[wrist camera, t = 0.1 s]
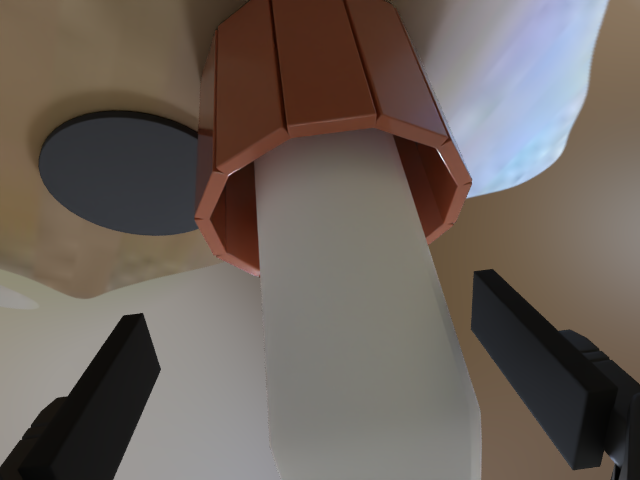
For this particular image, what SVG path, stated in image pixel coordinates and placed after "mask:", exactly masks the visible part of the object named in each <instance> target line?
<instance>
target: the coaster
mask: <svg viewBox="0 0 640 480" xmlns="http://www.w3.org/2000/svg"><path fill="white" fill-rule="evenodd" d="M197 147H198V133H196V132H195V131H193V130H191V129H189V128H187V127H185V126H183V125H181V124H178V123H176V122H174V121H171V120H168V119H164V118H161V117H158V116H153V115H149V114H144V113H137V112H127V111H109V112H98V113H92V114H87V115H83V116H80V117H77V118H74V119H72V120H70V121H68V122H66V123H64V124H62V125H61V126H59V127H58V128H57V129H55V130H54V131H53V132H52V133H51V134H50V135H49V136H48V137H47V139H46V141H45V142H44V144H43V146H42V149H41V153H40V156H39V171H40V176H41V178H42V180H43V183H44V185H45V186H46V188H47V189H48V191H49V192H50V193H51V194H52V196H53V197H54V198H55V199H56V200H57V201H58V202H60V203H61V204H62V205H63V206H64V207H66V208H67V209H68V210H70V211H71V212H73V213H74V214H76V215H78V216H80V217H81V218H83V219H85V220H88V221H90V222H92V223H94V224H97V225H99V226H102V227H105V228H109V229H112V230H116V231H120V232H125V233H130V234H138V235H152V236H160V235H174V234H180V233H185V232H189V231H193V230H196V229H199V228H198V226H197V224H196V222H195V220H194V210H195V189H196V168H197Z"/></svg>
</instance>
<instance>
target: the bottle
mask: <svg viewBox="0 0 640 480" xmlns="http://www.w3.org/2000/svg"><path fill="white" fill-rule="evenodd" d="M254 172H255V190H256V208H257V226H258V244H259V262H260V279H261V297H262V315H263V333H264V351H265V369H266V387H267V405H268V422H269V441H270V449H271V452H272V455H273V458H274V461H275V464H276V467H277V470H278V473H279V476H280V479H281V480H481V454H482V437H481V412H480V407H479V405H478V401H477V398H476V395H475V392H474V389H473V385H472V382H471V379H470V376H469V373H468V370H467V367H466V364H465V360H464V357H463V354H462V351H461V348H460V345H459V342H458V338H457V335H456V332H455V329H454V326H453V323H452V320H451V316H450V313H449V310H448V307H447V304H446V301H445V298H444V295H443V291H442V288H441V285H440V282H439V279H438V276H437V272H436V269H435V266H434V263H433V260H432V257H431V254H430V251H429V248H428V244H427V241H426V238H425V235H424V232H423V229H422V225H421V222H420V219H419V216H418V213H417V210H416V207H415V203H414V200H413V197H412V194H411V191H410V188H409V185H408V181H407V178H406V175H405V172H404V169H403V166H402V163H401V159H400V156H399V153H398V150H397V147H396V144H395V141H394V138H393V134H390V133H387V132H384V131H381V130H378V129H375V128H370V129H362V130H354V131H346V132H338V133H331V134H323V135H315V136H307V137H299V138H292V139H289V140H288V141H286V142H284V143H283V144H281V145H279V146H278V147H276V148H274V149H273V150H271V151H269V152H268V153H266V154H264V155H263V156H261V157H259V158H258V159H256V160H254Z"/></svg>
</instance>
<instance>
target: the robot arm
mask: <svg viewBox="0 0 640 480" xmlns="http://www.w3.org/2000/svg"><path fill="white" fill-rule="evenodd" d="M471 330H472V331H473V333H474V334H475V335H476V337H477V338H478V340H479V341H480V342H481V344H482V345H483V346H484V348H485V349H486V351H487V352H488V353H489V355H490V356H491V358H492V359H493V360H494V362H495V363H496V364H497V366H498V367H499V369H500V370H501V371H502V373H503V374H504V375H505V377H506V378H507V380H508V381H509V382H510V384H511V385H512V387H513V388H514V389H515V391H516V392H517V394H518V395H519V396H520V398H521V399H522V400H523V402H524V403H525V404H526V406H527V407H528V409H529V410H530V412H531V413H532V414H533V416H534V417H535V418H536V420H537V421H538V422H539V424H540V425H541V427H542V428H543V429H544V431H545V432H546V434H547V435H548V436H549V438H550V439H551V440H552V442H553V443H554V445H555V446H556V448H557V449H558V450H559V451H560V453H561V454H562V456H563V457H564V459H565V460H566V461H567V463H568V464H569V465H570V467H571V468H572V470H578V469H585V468H593V467H600V465H601V461H602V457H603V452H604V451H605V452H606V453H607V454H608V455H609V456H610V458H611V459H612V460H613V461H614V462H615V465H614V469H613V473H612V477H611V480H640V384H639V383H638V382H636V381H635V380H634V379H633V378H632V377H631V376H629V375H628V374H627V373H626V372H625V371H624V370H622V369H621V368H620V367H619V366H618V365H617V364H616V363H615V362H614V361H612V360H610V359H609V357H608V356H607V355H606V354H604V353H603V352H602V351H599V348H597V347H596V346H595V345H594V344H593V343H592V342H591V341H590V340H588V339H587V338H586V337H584V336H582V335H580V334H578V333H576V332H574V331H572V330H562V331H557V330H556V328H554V326H552V325H551V324H550V323H549V322H548V321H547V320H546V319H545V318H544V317H543V316H542V315H541V314H540V313H539V312H538V311H537V310H536V309H534V308H533V307H532V306H531V305H530V304H529V303H528V302H527V301H526V300H525V299H524V298H523V297H522V296H521V295H520V294H519V293H518V292H516V291H515V290H514V289H513V288H512V287H511V286H510V285H509V284H508V283H507V282H506V281H505V280H504V279H503V278H502V277H501V276H499V275H498V274H497V273H496V272H495V271H494V270H493V269H490V270H481V271H474V278H473V299H472V320H471ZM160 370H161V368H160V365H159V362H158V359H157V356H156V353H155V349H154V346H153V343H152V340H151V337H150V334H149V330H148V327H147V324H146V321H145V318H144V315H143V313H140V314H132V315H124V316H123V317H122V318H121V320H120V321H119V322H118V324H117V326H116V327H115V328H114V330H113V331H112V333H111V334H110V336H109V337H108V339H107V340H106V341H105V343H104V344H103V346H102V347H101V349H100V350H99V352H98V353H97V355H96V356H95V357H94V359H93V360H92V362H91V363H90V365H89V366H88V368H87V369H86V370H85V372H84V373H83V375H82V376H81V378H80V379H79V381H78V382H77V384H76V385H75V387H74V388H73V389H72V391H71V392H70V394H69V395H68V396H67V397H60V398H56V399H55V400H54V401H53V402H52V403H50V404H49V405H48V406H47V407H46V408H44V409H43V410H42V411H41V412H40V414H39V415H38V416H37V418H36V419H35V420H34V422H33V423H32V424H31V428H29V429H28V430H27V431H26V433H25V434H24V436H23V437H22V440H20V441H19V442H18V444H17V445H16V446H15V448H14V449H13V451H12V452H11V453H10V454H9V456H8V457H7V459H6V460H5V461H4V463H3V464H2V465H1V467H0V480H113V479H114V476H115V474H116V472H117V469H118V467H119V465H120V463H121V460H122V458H123V456H124V453H125V451H126V448H127V446H128V444H129V442H130V439H131V437H132V435H133V433H134V430H135V428H136V426H137V423H138V421H139V419H140V416H141V414H142V412H143V410H144V407H145V405H146V402H147V400H148V398H149V396H150V393H151V391H152V389H153V386H154V384H155V382H156V380H157V377H158V375H159V373H160Z"/></svg>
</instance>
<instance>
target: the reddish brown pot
mask: <svg viewBox="0 0 640 480" xmlns="http://www.w3.org/2000/svg"><path fill="white" fill-rule="evenodd" d="M370 128H375V129H378V130H381V131H384V132H387V133H390V134H393V138H394V141H395V144H396V147H397V150H398V153H399V156H400V159H401V163H402V166H403V169H404V172H405V175H406V178H407V181H408V185H409V188H410V191H411V194H412V197H413V200H414V203H415V207H416V210H417V213H418V216H419V219H420V222H421V225H422V229H423V232H424V235H425V238H426V241H427V244H428V245H429V244H431V243H432V242H433V241H434V240H436V239H437V238H438V237H439V236H441V235H442V234H443V233H444V232H446V231H447V230H448V229H449V228H451V227H452V226H453V225H454V224H453V223H455V222H456V221H457V218H458V216H459V214H460V211H461V209H462V207H463V204H464V202H465V199H466V197H467V195H468V192H469V190H470V187H471V185H472V182H471V181H472V178H471V176H470V173H469V171H468V169H467V166H466V164H465V162H464V159H463V157H462V155H461V152H460V150H459V148H458V145H457V143H456V141H455V138H454V136H453V134H452V131H451V129H450V127H449V124H448V122H447V120H446V117H445V115H444V113H443V110H442V108H441V106H440V103H439V101H438V99H437V96H436V94H435V92H434V89H433V87H432V85H431V82H430V80H429V78H428V75H427V73H426V71H425V68H424V66H423V64H422V61H421V59H420V57H419V54H418V52H417V50H416V48H415V46H414V44H413V42H412V40H411V38H410V36H409V34H408V31H407V29H406V27H405V25H404V23H403V21H402V19H401V17H400V15H399V13H398V11H397V9H396V8H394V6H393V5H392V4H390V3H388V2H386V1H384V0H250V1H249V2H247V3H246V4H245V5H244V6H242V7H241V8H240V9H239V10H237V11H236V12H235V13H234V14H233V15H231V16H230V17H229V18H228V19H226V20H225V21H224V22H223V23H221V24H220V25H219V26H218V30H215V33H214V36H213V39H212V43H211V46H210V50H209V53H208V56H207V60H206V63H205V67H204V70H203V73H202V77H201V84H200V105H199V126H198V147H197V168H196V189H195V210H194V220H195V222H196V224H197V226H198V228H199V229H200V231H201V233H202V235H203V237H204V239H205V240H206V242H207V244H208V246H209V248H210V249H211V251H212V253H213V255H216V257H217V258H219V259H221V260H223V261H225V262H227V263H229V264H231V265H233V266H235V267H237V268H240V269H242V270H244V271H246V272H248V273H250V274H252V275H254V276H259V277H260V262H259V244H258V226H257V208H256V190H255V172H254V160H256V159H258V158H259V157H261V156H263V155H264V154H266V153H268V152H269V151H271V150H273V149H274V148H276V147H278V146H279V145H281V144H283V143H284V142H286V141H288V140H289V139H292V138H299V137H307V136H315V135H323V134H331V133H338V132H346V131H354V130H362V129H370Z"/></svg>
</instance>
